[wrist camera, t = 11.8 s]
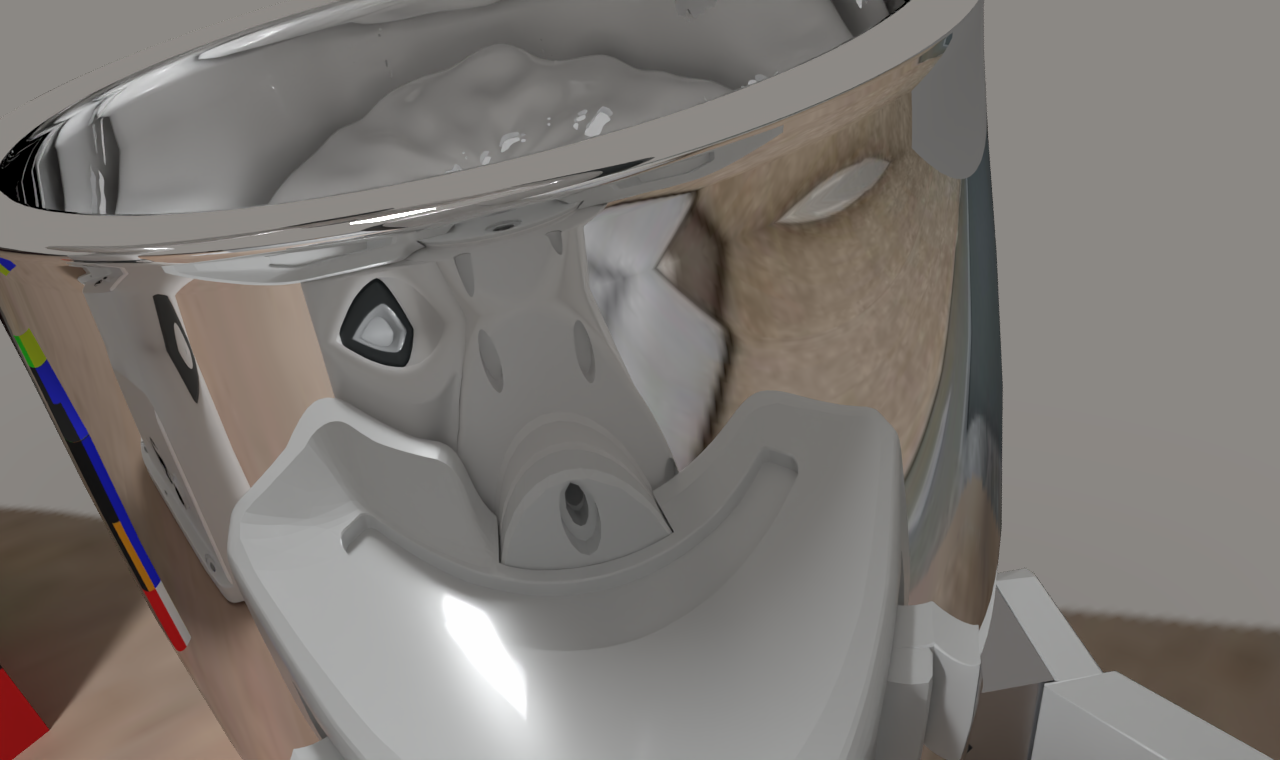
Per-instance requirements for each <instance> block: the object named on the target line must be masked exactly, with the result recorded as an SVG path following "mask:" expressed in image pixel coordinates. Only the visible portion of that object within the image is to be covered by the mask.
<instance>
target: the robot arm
mask: <svg viewBox="0 0 1280 760" xmlns="http://www.w3.org/2000/svg"><path fill="white" fill-rule="evenodd" d="M965 760H1274V759H1272V758H1270V757H1268V756H1267V755H1265V754H1263V753H1261V752H1260V751H1258V750H1256V749H1254V748H1252V747H1251V746H1249V745H1247V744H1245V743H1244V742H1242V741H1240V740H1238V739H1236V738H1235V737H1233V736H1231V735H1229V734H1227V733H1226V732H1224V731H1222V730H1220V729H1219V728H1217V727H1215V726H1213V725H1211V724H1210V723H1208V722H1206V721H1204V720H1203V719H1201V718H1199V717H1197V716H1195V715H1194V714H1192V713H1190V712H1188V711H1186V710H1185V709H1183V708H1181V707H1179V706H1178V705H1176V704H1174V703H1172V702H1170V701H1169V700H1167V699H1165V698H1163V697H1162V696H1160V695H1158V694H1156V693H1154V692H1153V691H1151V690H1149V689H1147V688H1145V687H1144V686H1142V685H1140V684H1138V683H1137V682H1135V681H1133V680H1131V679H1129V678H1128V677H1126V676H1124V675H1122V674H1121V673H1119V672H1117V671H1111V672H1104V673H1103V672H1102V670H1101V669H1100V667H1099V666H1098V665H1097V663H1096V662H1095V660H1094V659H1093V657H1092V656H1091V654H1090V653H1089V652H1088V650H1087V649H1086V647H1085V646H1084V644H1083V643H1082V641H1081V640H1080V639H1079V637H1078V636H1077V634H1076V633H1075V631H1074V630H1073V628H1072V627H1071V626H1070V624H1069V623H1068V621H1067V620H1066V618H1065V617H1064V616H1063V614H1062V613H1061V611H1060V610H1059V608H1058V607H1057V605H1056V604H1055V603H1054V601H1053V600H1052V598H1051V597H1050V595H1049V594H1048V593H1047V591H1046V590H1045V588H1044V587H1043V585H1042V584H1041V582H1040V581H1039V579H1038V578H1037V577H1036V575H1035V574H1034V573H1033V572H1031V571H1030V570H1028V569H1026V568H1024V569H1018V570H1012V571H1007V572H1002V573H997V578H996V588H995V599H994V609H993V619H992V629H991V639H990V649H989V659H988V665H987V671H986V676H985V680H984V684H983V689H982V693H981V697H980V701H979V705H978V709H977V713H976V717H975V721H974V725H973V729H972V733H971V738H970V742H969V746H968V750H967V754H966V758H965Z"/></svg>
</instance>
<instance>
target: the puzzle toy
mask: <svg viewBox="0 0 1280 760" xmlns="http://www.w3.org/2000/svg"><path fill="white" fill-rule="evenodd" d="M48 731H49V729H48V727H47V726H46V725H45V723H44V722H43V721H42V720H41V718H40V717H39V716H38V714H37V713H36V712H35V710H34V709H33V708H32V706H31V705H30V704H29V702H28V701H27V700H26V698H25V697H24V696H23V694H22V693H21V692H20V690H19V689H18V688H17V686H16V685H15V684H14V683H13V681H12V680H11V679H10V677H9V676H8V675H7V673H6V672H5V671H4V669H3V668H2V667H1V665H0V760H12V759H14V758H15V757H16V756H17V755H19V754H20V753H21V752H22V751H24V750H25V749H26V748H28V747H29V746H30V745H31V744H33V743H34V742H35V741H36V740H38V739H39V738H40V737H42V736H43V735H44V734H45V733H47V732H48Z"/></svg>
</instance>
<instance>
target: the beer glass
mask: <svg viewBox="0 0 1280 760" xmlns="http://www.w3.org/2000/svg"><path fill="white" fill-rule="evenodd" d="M987 124H988V123H987V104H986V82H985V61H984V0H288V1H285V2H281V3H278V4H275V5H271V6H268V7H265V8H262V9H258V10H255V11H252V12H249V13H246V14H243V15H240V16H237V17H234V18H231V19H227V20H225V21H221V22H218V23H216V24H213V25H210V26H207V27H204V28H201V29H198V30H195V31H192V32H190V33H187V34H184V35H181V36H179V37H176V38H173V39H170V40H168V41H165V42H162V43H160V44H157V45H154V46H152V47H149V48H147V49H144V50H142V51H139V52H136V53H134V54H132V55H129V56H126V57H124V58H122V59H119V60H117V61H114V62H112V63H109V64H107V65H105V66H102V67H100V68H98V69H95V70H93V71H91V72H88V73H86V74H84V75H82V76H80V77H77V78H75V79H73V80H71V81H69V82H67V83H64V84H63V85H61V86H58V87H56V88H54V89H52V90H50V91H48V92H46V93H44V94H42V95H40V96H38V97H36V98H35V99H33V100H31V101H29V102H27V103H25V104H24V105H22V106H20V107H18V108H16V109H15V110H13V111H11V112H10V113H8V114H6V115H5V116H3V117H1V118H0V320H1V322H2V324H3V326H4V328H5V330H6V332H7V333H8V335H9V337H10V339H11V341H12V343H13V345H14V347H15V349H16V351H17V352H18V354H19V356H20V358H21V360H22V362H23V364H24V366H25V368H26V370H27V371H28V373H29V375H30V377H31V379H32V382H33V383H34V385H35V388H36V389H37V392H38V394H39V395H40V397H41V399H42V401H43V404H44V405H45V408H46V409H47V411H48V413H49V415H50V418H51V420H52V421H53V423H54V425H55V428H56V430H57V432H58V433H59V435H60V437H61V440H62V442H63V444H64V445H65V447H66V449H67V451H68V454H69V455H70V457H71V459H72V461H73V464H74V465H75V467H76V469H77V472H78V474H79V476H80V478H81V480H82V482H83V484H84V485H85V487H86V489H87V491H88V493H89V495H90V497H91V499H92V501H93V502H94V504H95V506H96V508H97V510H98V512H99V514H100V516H101V518H102V520H103V521H104V523H105V525H106V527H107V529H108V531H109V533H110V535H111V537H112V538H113V540H114V542H115V544H116V546H117V548H118V550H119V552H120V553H121V555H122V557H123V559H124V561H125V563H126V565H127V567H128V569H129V570H130V572H131V574H132V576H133V578H134V580H135V582H136V584H137V585H138V587H139V589H140V591H141V593H142V595H143V597H144V599H145V601H146V602H147V604H148V606H149V608H150V610H151V612H152V614H153V615H154V617H155V619H156V621H157V622H158V624H159V626H160V627H161V629H162V631H163V632H164V634H165V636H166V637H167V639H168V640H169V642H170V644H171V645H172V647H173V649H174V650H175V652H176V654H177V655H178V657H179V658H180V660H181V662H182V663H183V665H184V667H185V668H186V670H187V672H188V673H189V675H190V676H191V678H192V680H193V681H194V683H195V685H196V686H197V688H198V690H199V691H200V693H201V695H202V696H203V698H204V699H205V701H206V703H207V704H208V706H209V708H210V709H211V711H212V713H213V714H214V716H215V717H216V719H217V721H218V722H219V724H220V726H221V727H222V729H223V731H224V732H225V734H226V735H227V737H228V739H229V740H230V742H231V743H232V745H233V746H234V748H235V749H236V751H237V752H238V754H239V755H240V757H241V758H242V759H243V760H965V758H966V754H967V750H968V746H969V742H970V738H971V733H972V729H973V725H974V721H975V717H976V713H977V709H978V705H979V701H980V697H981V693H982V689H983V684H984V680H985V676H986V671H987V665H988V659H989V649H990V639H991V629H992V619H993V609H994V599H995V588H996V578H997V568H998V557H999V547H1000V537H1001V525H1002V523H1001V522H1002V520H1001V518H1002V410H1003V381H1002V361H1001V360H1002V359H1001V338H1000V316H999V296H998V273H997V253H996V239H995V225H994V211H993V197H992V183H991V171H990V170H991V169H990V156H989V141H988V125H987Z"/></svg>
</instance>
